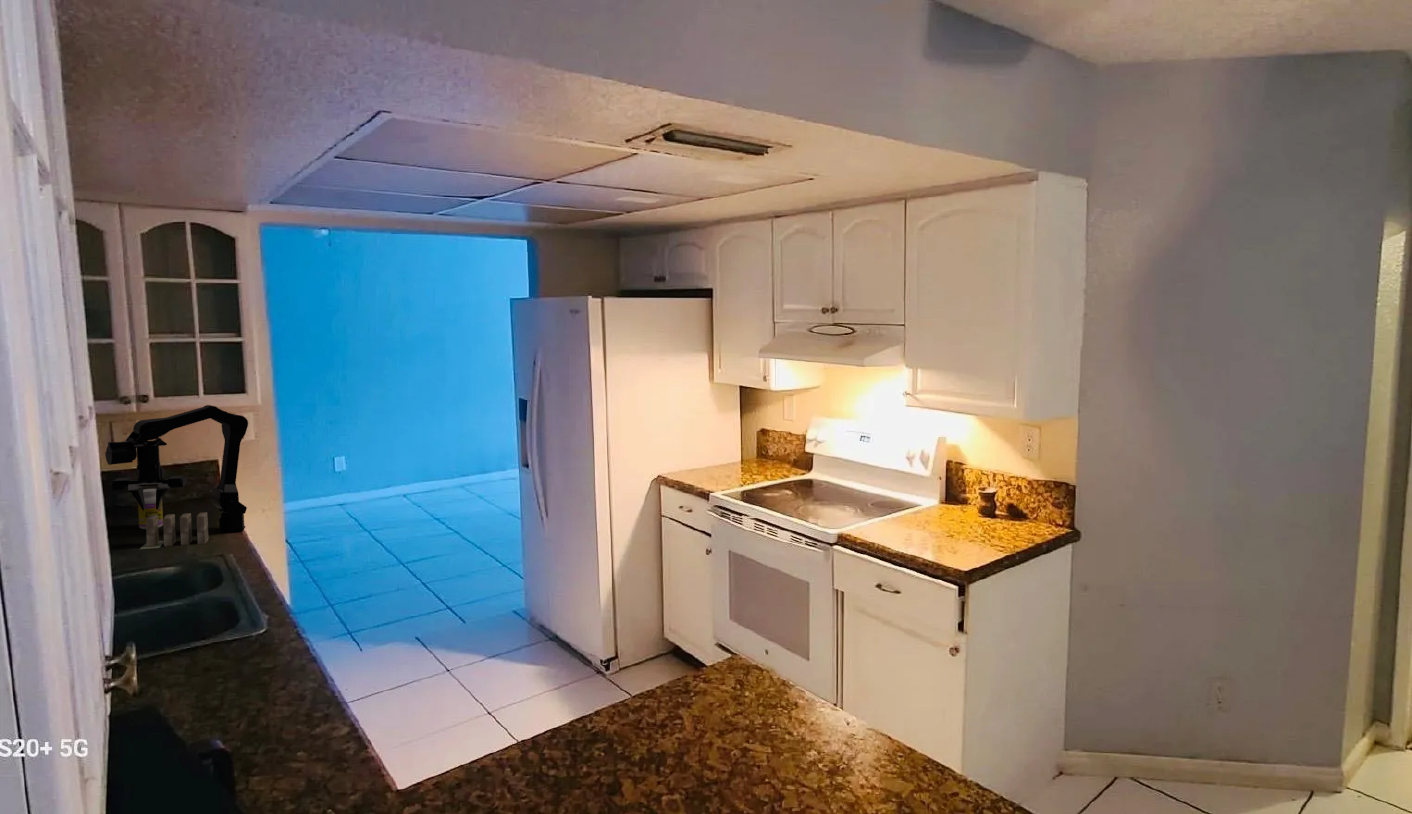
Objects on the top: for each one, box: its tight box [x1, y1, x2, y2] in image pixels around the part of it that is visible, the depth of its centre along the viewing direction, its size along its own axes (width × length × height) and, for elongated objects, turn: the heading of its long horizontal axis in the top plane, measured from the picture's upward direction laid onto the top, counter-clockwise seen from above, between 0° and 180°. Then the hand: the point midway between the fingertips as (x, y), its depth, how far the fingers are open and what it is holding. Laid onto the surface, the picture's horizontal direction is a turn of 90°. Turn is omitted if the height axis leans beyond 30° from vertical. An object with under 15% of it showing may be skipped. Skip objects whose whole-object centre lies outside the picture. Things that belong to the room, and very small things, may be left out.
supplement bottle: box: [137, 488, 164, 530], centre depth 266 cm, size 7×7×13 cm
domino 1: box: [162, 513, 177, 547], centre depth 248 cm, size 2×5×9 cm, turn 22°
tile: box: [145, 515, 160, 547], centre depth 246 cm, size 2×5×9 cm, turn 23°
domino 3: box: [196, 512, 209, 545], centre depth 251 cm, size 2×5×9 cm, turn 22°
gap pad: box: [139, 540, 164, 550], centre depth 247 cm, size 5×8×1 cm, turn 22°
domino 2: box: [179, 512, 193, 546], centre depth 250 cm, size 2×5×9 cm, turn 22°
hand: (150, 509), depth 245 cm, fingers open, 3 cm apart
